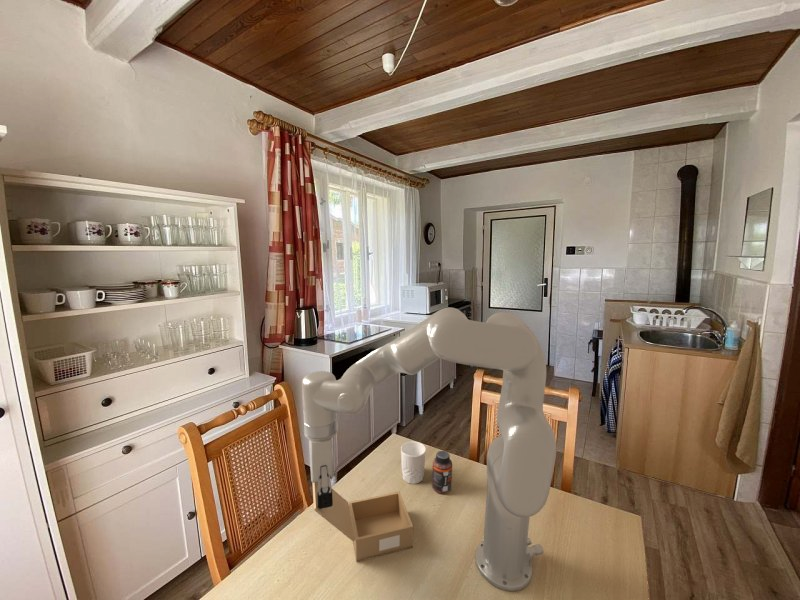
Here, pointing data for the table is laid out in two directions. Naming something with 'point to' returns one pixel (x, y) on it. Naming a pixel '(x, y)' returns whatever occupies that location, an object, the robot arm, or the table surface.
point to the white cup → (413, 461)
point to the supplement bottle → (442, 472)
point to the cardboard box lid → (336, 512)
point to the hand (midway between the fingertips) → (323, 491)
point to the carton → (380, 526)
